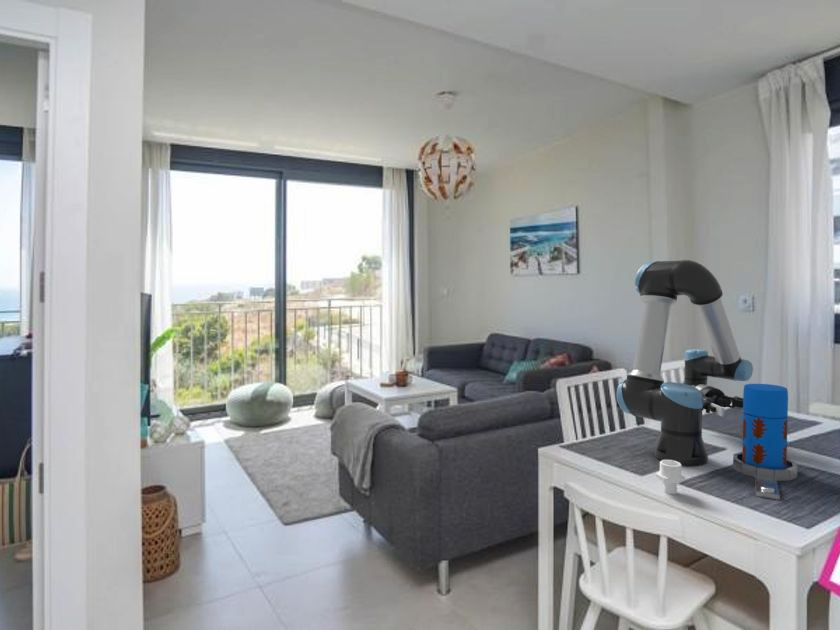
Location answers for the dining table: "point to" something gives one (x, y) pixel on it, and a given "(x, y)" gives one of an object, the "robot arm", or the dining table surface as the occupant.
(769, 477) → the grey handled tray
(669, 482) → the pipe fitting
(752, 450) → the thermos
